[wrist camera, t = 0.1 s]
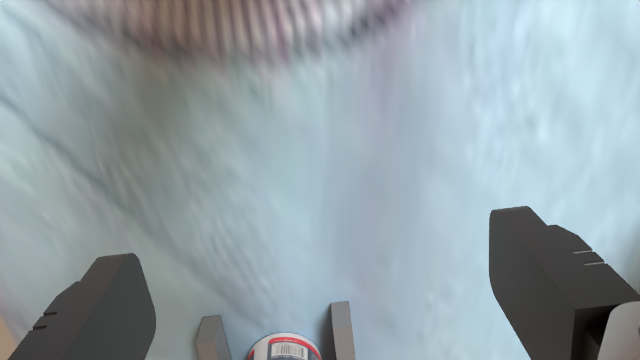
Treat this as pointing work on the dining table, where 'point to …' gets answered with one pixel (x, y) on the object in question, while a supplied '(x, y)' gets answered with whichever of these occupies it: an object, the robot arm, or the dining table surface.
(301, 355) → the pill bottle
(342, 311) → the grey blocks
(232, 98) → the dining table surface
